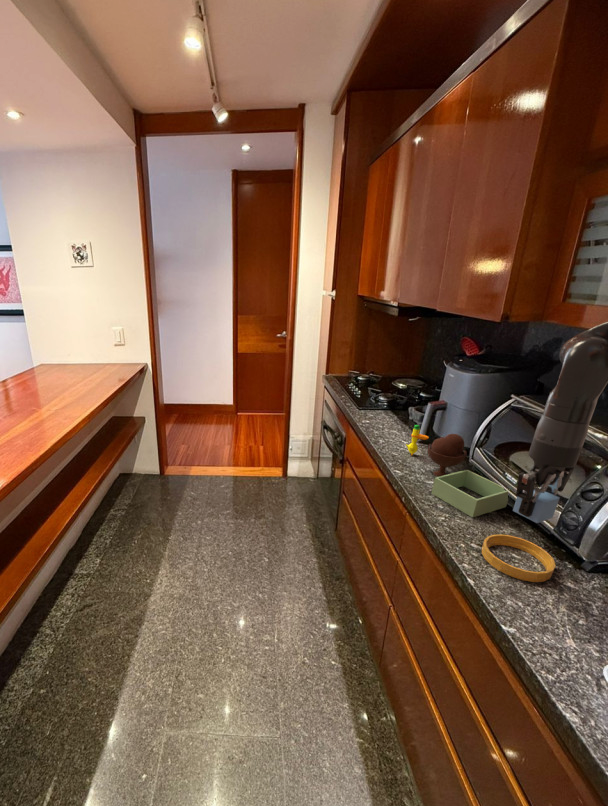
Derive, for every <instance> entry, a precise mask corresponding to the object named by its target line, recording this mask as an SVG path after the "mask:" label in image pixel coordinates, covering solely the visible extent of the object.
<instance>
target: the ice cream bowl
mask: <svg viewBox="0 0 608 806" xmlns="http://www.w3.org/2000/svg"><path fill="white" fill-rule="evenodd" d="M464 447H465V441H464V438H463V437H462V436H461V435H460V434H457V433H450V434H447V435H445V437H444V436H441V437H439V438H436V439H434V440H433V441H432V443H429V444H428V446H427V455H428V458H430V460H432V461H433V462H434V463H435V464H436V465H438V466H439V470H434V471H433V474H432V475H434V476H435V477H440V476H444V475H448V474H449V473H447V471H446V469H447V468H449V467H453V466H458V465H460V464H462V463H463V462H464V461H465V460H466V457H467V453H468V452H467V450H465V449H464Z"/></svg>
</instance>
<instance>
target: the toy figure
mask: <svg viewBox="0 0 608 806" xmlns="http://www.w3.org/2000/svg"><path fill="white" fill-rule="evenodd" d="M413 425H414V427H413V429H412V433H411V434H410V437H411V442H410V443H409V444H407V443H405V446H406V448H407V450H408V453H409V454H410V456H413V455H414V454H416V452H418V450H419V446H418V444H417V443H418V440H424V441H426V440H428V439H429V436H428V435H426V434H422V433H420V432H421V428H420V425H419V424H413Z"/></svg>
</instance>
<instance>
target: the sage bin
mask: <svg viewBox="0 0 608 806" xmlns="http://www.w3.org/2000/svg"><path fill="white" fill-rule="evenodd" d="M447 474H448V475H444V476H440V477H438V476H435V477H434V480H433V484H432V489H431V495H433V496H435V497H436V498H438V499H440V500H442V501H444V502H445V503H446V504H449V505H450V506H452V507H454V508H456V510H459V511H460V512H462V513H464V514H466V515H467V516H469V517H471V518H475V517H479V516H482V515H485V514H489V513H491V512H495V511H498V510H501V509H505V508H507V506H508V502H509V499H508V491H507V490H506V491H505V490H504V488H503V487H504V486H503V487H502V485H500V484H498V483H496V482H494V481H492V480H490V479H488V478H486V477H483V476H481V475H479V474H477V473H476V472H473V471H471V470H469V469H465V470H460V471H456V472H452V473H447ZM462 487H464V488H466V489H468V490H470V491H472V492H474V493H475V494H478V495H480V496H481V497H479V498H476V497H474V496H472V495H470V494H468V493H467V492H465V491H463V490H461V489H459V488H462Z"/></svg>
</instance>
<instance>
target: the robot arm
mask: <svg viewBox="0 0 608 806" xmlns="http://www.w3.org/2000/svg"><path fill="white" fill-rule="evenodd" d="M558 358H559V361H560V363H561V364H562V367H561V370H560V372H559V373H560V374H559V376H558V379H557V383H556V385H555V386H554V387H553V388H552V389H551V390H550V392H549V393H548V394H549V395H548V397H547V399H546V403H545V405H544V409H543V412H542V415H541V417H540V418H539V421H538V423H537V425H536V428H535V431H534V435H533V437H532V441H531V444H530V448H529V451H528V457H530V458H531V459H532V461H533V464H532V466H531V467H530V469H529V472H527V473H525V472H524V471H520V472H519V474H518V478H517V485H516V493H515V496H516V497H517V496H518V497H520V498H522V502H521V505H520V508H519V513H520V514H522V515H524V516H526V517H530V516H531V515H532V512H533V509H534V507H535V504H536V501H537V499H538V497H539V496H540V494H541V493H545V491H546V492H548V493H551V494H553V495H555V496H557V495H558V493H559V492H560V493H562V492H563V491H564V489H565V487H566V486H567V483H568V482H569V481H570V477H571V475H572V474H573V472H574V470H575V466H576V465H577V462H578V460H579V457H580V454H581V452H582V450H583V446H584V443H585V441H586V438H587V436H588V433H589V428H590V424H591V420H592V418H593V415H594V412H595V410H596V406H597V404H598V400H599V397H600V396H601V394H602V393H603V392H604V389H605V388H606V386H607V385H608V321H604V322H603V323H601V324H600V323H599V324H598V325H595V326H593V327H591V328H588V329H586V330H584V331H582V332H580V333H578V334H575V335H574V336H572V337H571V338H569V339H568V340H567V341H566V342H565V343H564V344H563V345H562V346H561V348H560V350H559V355H558ZM539 486H540V487H539ZM523 490H524V491H523ZM534 490H535V493H534V495H533V492H534ZM520 514H519V515H520ZM522 515H521V516H522ZM524 516H523V517H524ZM526 517H525V518H526Z"/></svg>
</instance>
